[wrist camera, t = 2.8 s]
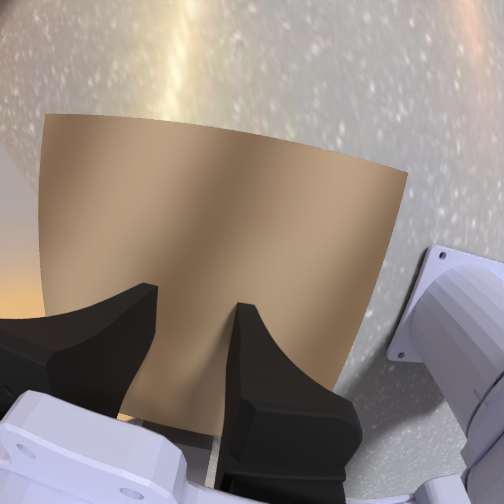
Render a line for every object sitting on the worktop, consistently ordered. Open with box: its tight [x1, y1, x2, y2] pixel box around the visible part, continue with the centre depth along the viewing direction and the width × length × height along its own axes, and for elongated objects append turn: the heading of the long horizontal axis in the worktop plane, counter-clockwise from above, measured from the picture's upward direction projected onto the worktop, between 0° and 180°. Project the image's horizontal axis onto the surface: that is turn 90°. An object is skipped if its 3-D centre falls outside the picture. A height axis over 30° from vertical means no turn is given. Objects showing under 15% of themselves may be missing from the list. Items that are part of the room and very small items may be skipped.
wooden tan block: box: [38, 114, 408, 437], centre depth 12 cm, size 13×14×1 cm
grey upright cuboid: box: [142, 420, 214, 486], centre depth 19 cm, size 4×6×6 cm, turn 169°
